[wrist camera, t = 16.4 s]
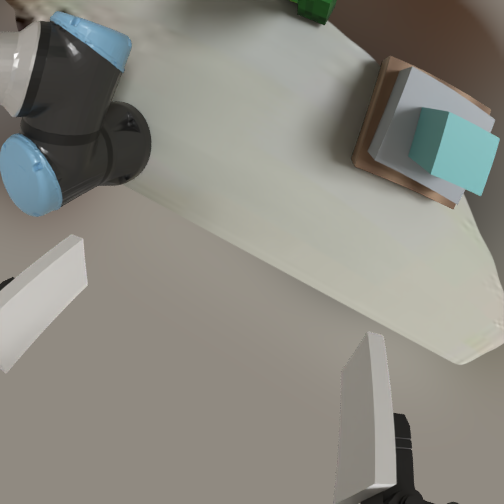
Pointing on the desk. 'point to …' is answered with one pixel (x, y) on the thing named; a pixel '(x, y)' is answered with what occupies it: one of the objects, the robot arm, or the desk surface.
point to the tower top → (405, 123)
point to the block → (453, 149)
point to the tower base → (371, 122)
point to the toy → (315, 9)
